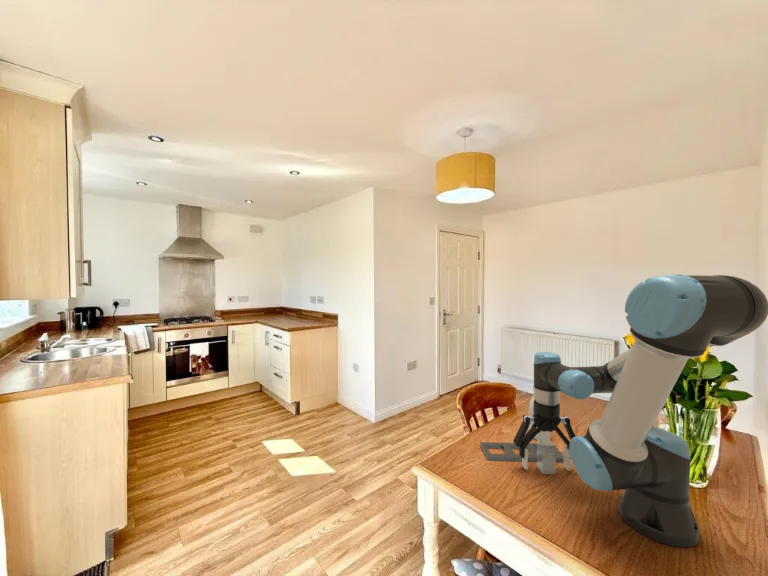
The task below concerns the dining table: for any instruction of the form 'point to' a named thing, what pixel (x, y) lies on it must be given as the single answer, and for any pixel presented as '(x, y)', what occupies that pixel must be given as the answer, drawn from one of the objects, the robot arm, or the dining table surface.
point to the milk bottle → (540, 435)
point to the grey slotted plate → (510, 453)
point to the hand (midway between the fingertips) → (545, 467)
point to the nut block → (546, 456)
